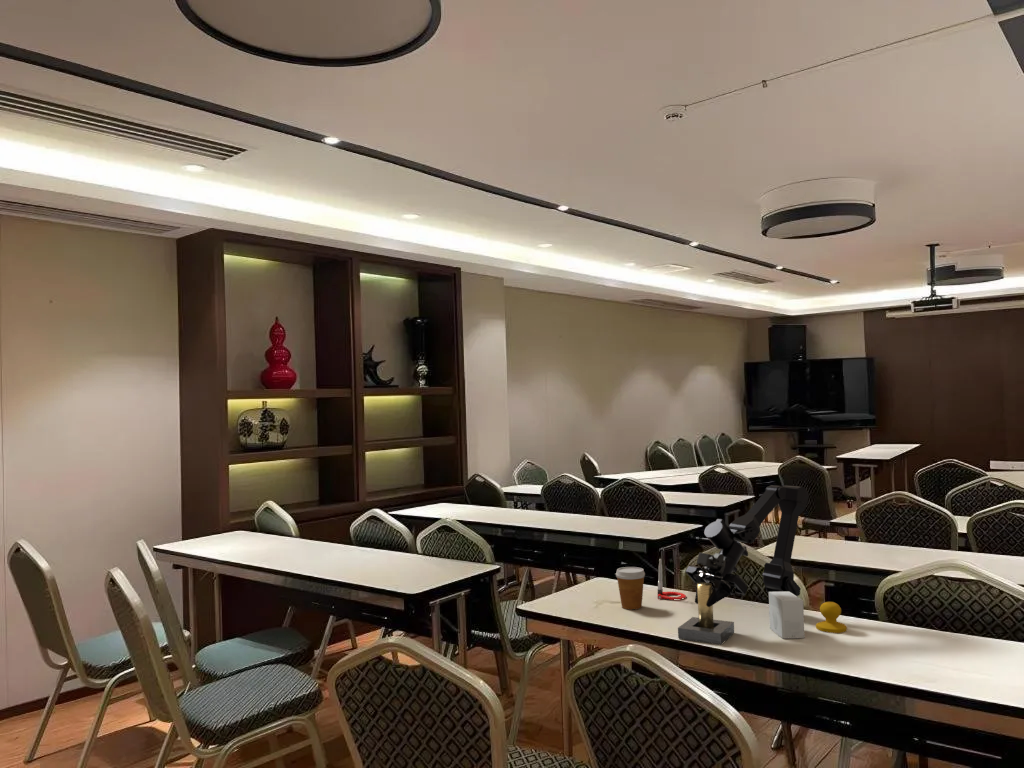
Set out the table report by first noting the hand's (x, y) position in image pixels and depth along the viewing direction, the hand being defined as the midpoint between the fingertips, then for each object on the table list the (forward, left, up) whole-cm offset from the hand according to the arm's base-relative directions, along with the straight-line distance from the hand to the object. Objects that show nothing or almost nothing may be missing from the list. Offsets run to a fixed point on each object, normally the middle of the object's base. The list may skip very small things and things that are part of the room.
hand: (701, 604), depth 211 cm
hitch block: (-1, -1, -9) cm, 9 cm away
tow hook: (+23, -37, -9) cm, 45 cm away
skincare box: (-20, -13, -9) cm, 25 cm away
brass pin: (-1, -1, -7) cm, 7 cm away
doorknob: (-30, -22, -9) cm, 38 cm away
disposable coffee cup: (+30, -20, -9) cm, 38 cm away
